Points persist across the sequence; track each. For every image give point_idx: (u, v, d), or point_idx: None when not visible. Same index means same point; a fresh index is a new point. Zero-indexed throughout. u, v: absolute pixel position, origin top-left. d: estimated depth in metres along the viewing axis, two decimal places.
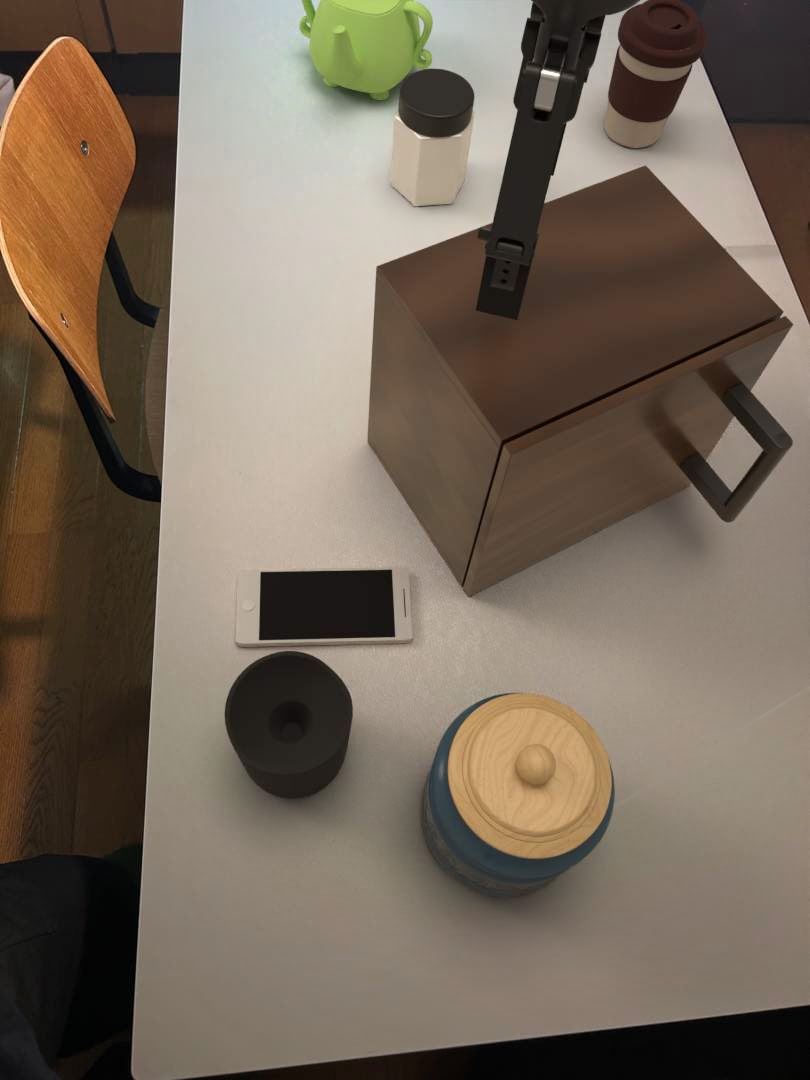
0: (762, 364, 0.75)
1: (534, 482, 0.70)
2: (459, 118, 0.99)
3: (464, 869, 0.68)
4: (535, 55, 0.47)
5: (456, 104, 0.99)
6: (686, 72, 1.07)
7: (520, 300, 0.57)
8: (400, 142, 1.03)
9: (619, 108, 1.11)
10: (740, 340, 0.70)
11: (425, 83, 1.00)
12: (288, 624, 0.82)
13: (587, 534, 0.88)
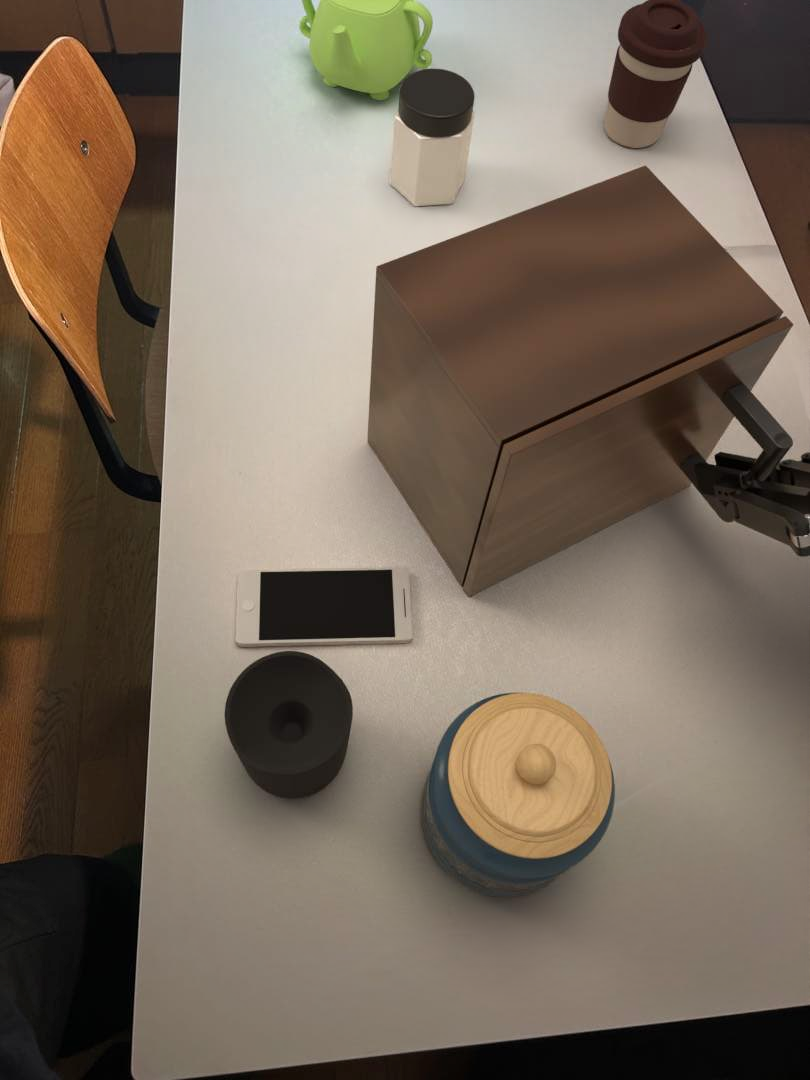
0: (762, 364, 0.75)
1: (534, 482, 0.70)
2: (459, 118, 0.99)
3: (464, 869, 0.68)
4: None
5: (456, 104, 0.99)
6: (686, 72, 1.07)
7: (734, 455, 0.82)
8: (400, 142, 1.03)
9: (619, 108, 1.11)
10: (740, 340, 0.70)
11: (425, 83, 1.00)
12: (288, 624, 0.82)
13: (587, 534, 0.88)
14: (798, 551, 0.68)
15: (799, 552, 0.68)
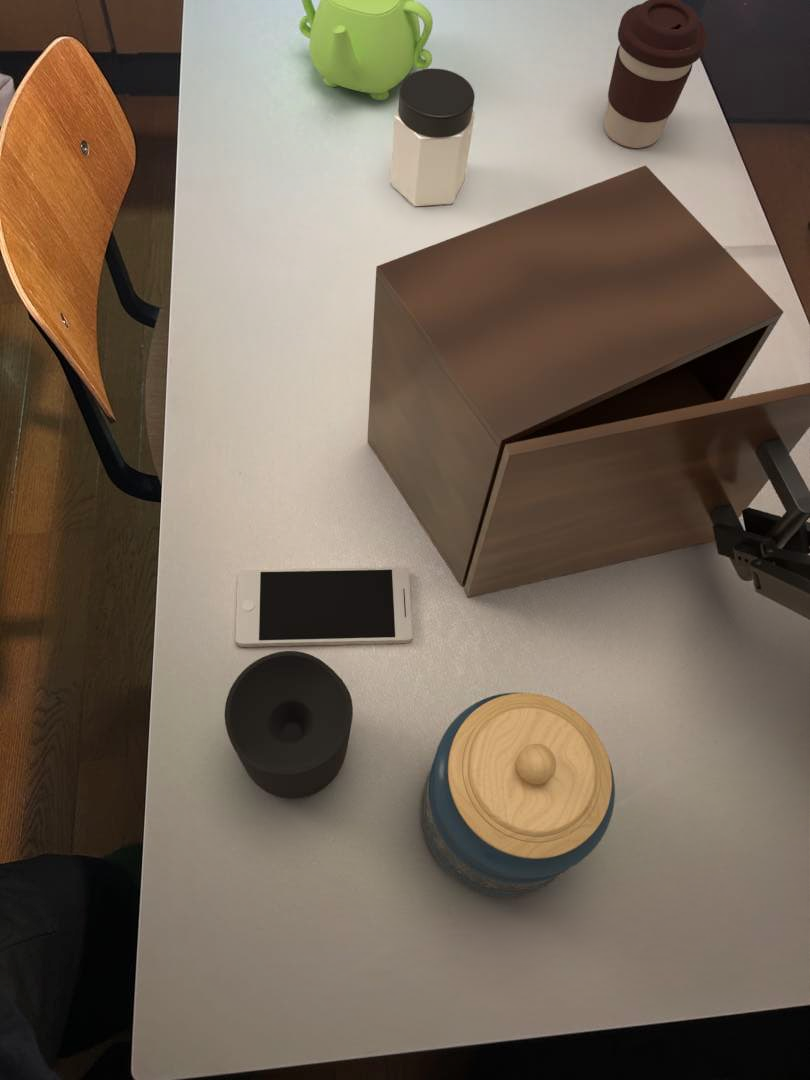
0: (803, 423, 0.72)
1: (537, 491, 0.70)
2: (459, 118, 0.99)
3: (464, 869, 0.68)
4: None
5: (456, 104, 0.99)
6: (686, 72, 1.07)
7: (763, 512, 0.79)
8: (400, 142, 1.03)
9: (619, 108, 1.11)
10: (778, 392, 0.68)
11: (425, 83, 1.00)
12: (288, 624, 0.82)
13: (602, 563, 0.87)
14: None
15: None
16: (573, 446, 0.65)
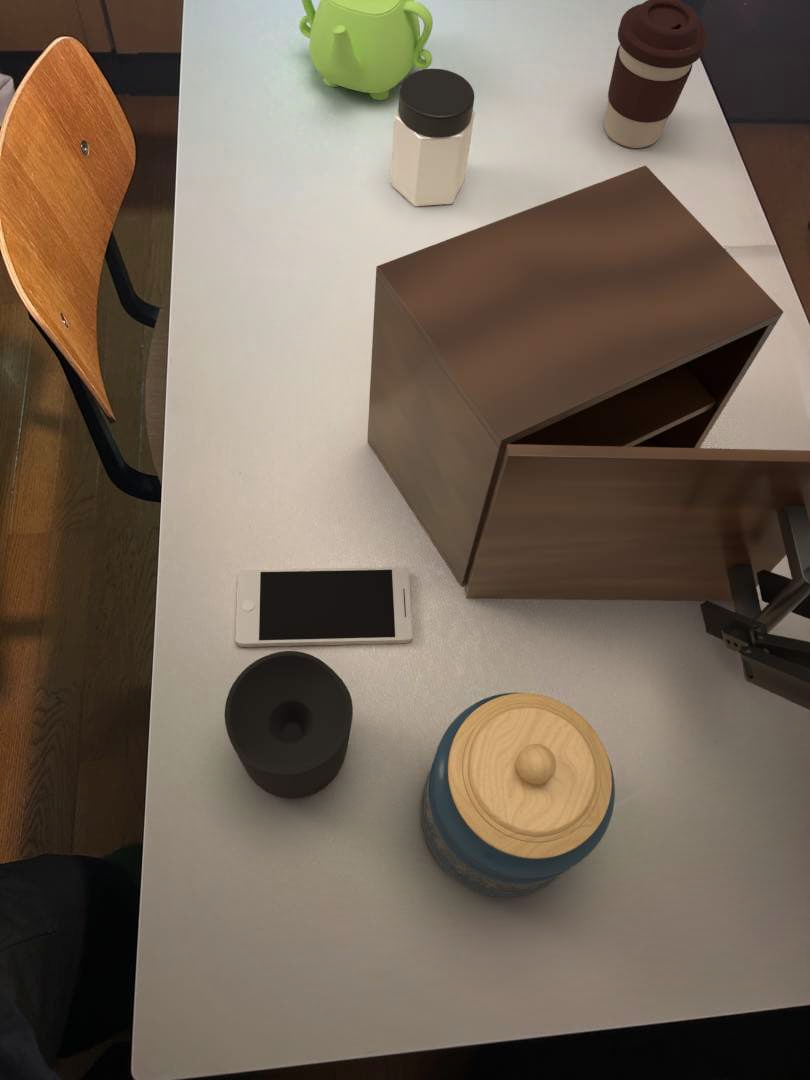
0: None
1: (538, 500, 0.70)
2: (459, 118, 0.99)
3: (464, 869, 0.68)
4: None
5: (456, 104, 0.99)
6: (686, 72, 1.07)
7: (779, 575, 0.76)
8: (400, 142, 1.03)
9: (619, 108, 1.11)
10: (804, 454, 0.66)
11: (425, 83, 1.00)
12: (288, 624, 0.82)
13: (609, 595, 0.85)
14: None
15: None
16: (575, 461, 0.65)
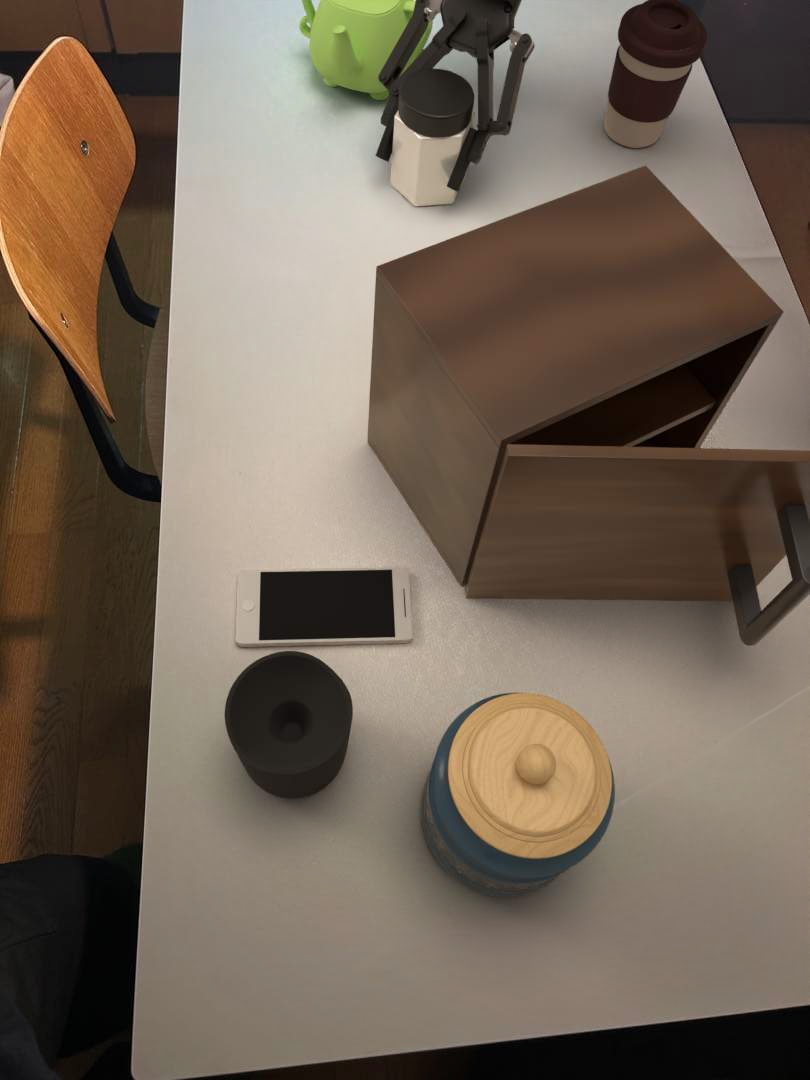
0: None
1: (538, 500, 0.70)
2: (459, 118, 0.99)
3: (464, 869, 0.68)
4: (507, 28, 0.99)
5: (456, 104, 0.99)
6: (686, 72, 1.07)
7: (464, 176, 1.05)
8: (400, 142, 1.03)
9: (619, 108, 1.11)
10: (804, 454, 0.66)
11: (425, 83, 1.00)
12: (288, 624, 0.82)
13: (609, 595, 0.85)
14: None
15: None
16: (575, 461, 0.65)
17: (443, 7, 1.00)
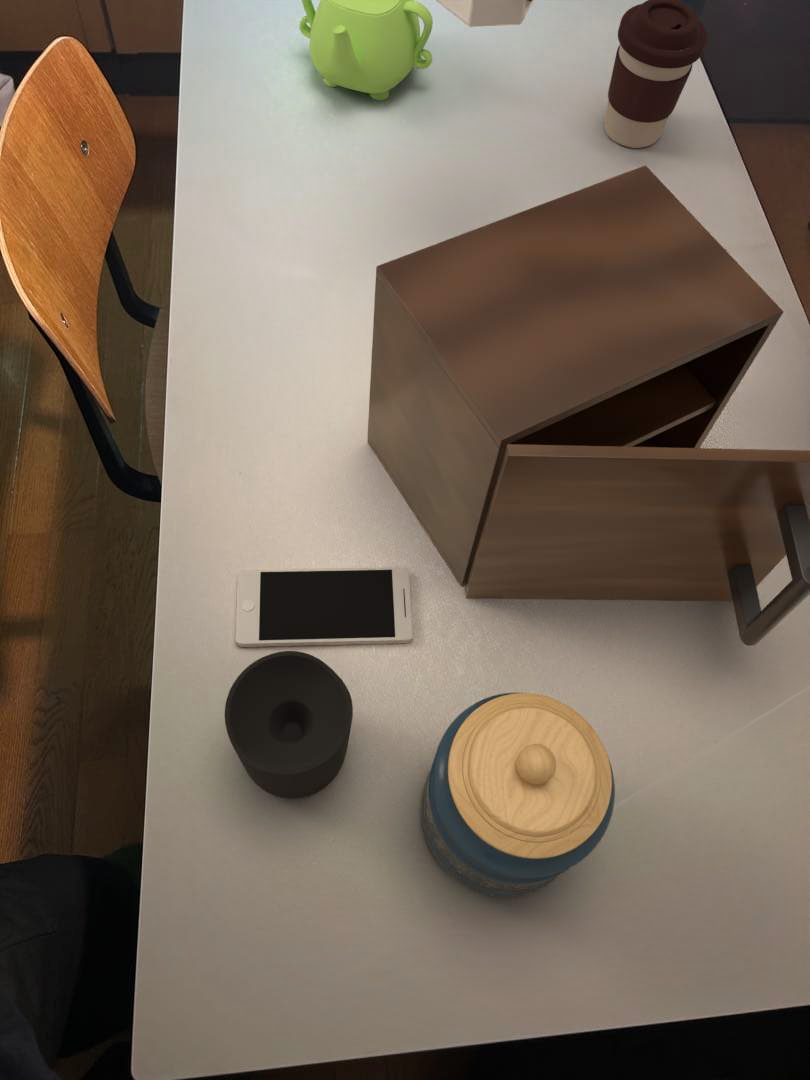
0: None
1: (538, 500, 0.70)
2: None
3: (464, 869, 0.68)
4: None
5: None
6: (686, 72, 1.07)
7: None
8: None
9: (619, 108, 1.11)
10: (804, 454, 0.66)
11: None
12: (288, 624, 0.82)
13: (609, 595, 0.85)
14: None
15: None
16: (575, 461, 0.65)
17: None
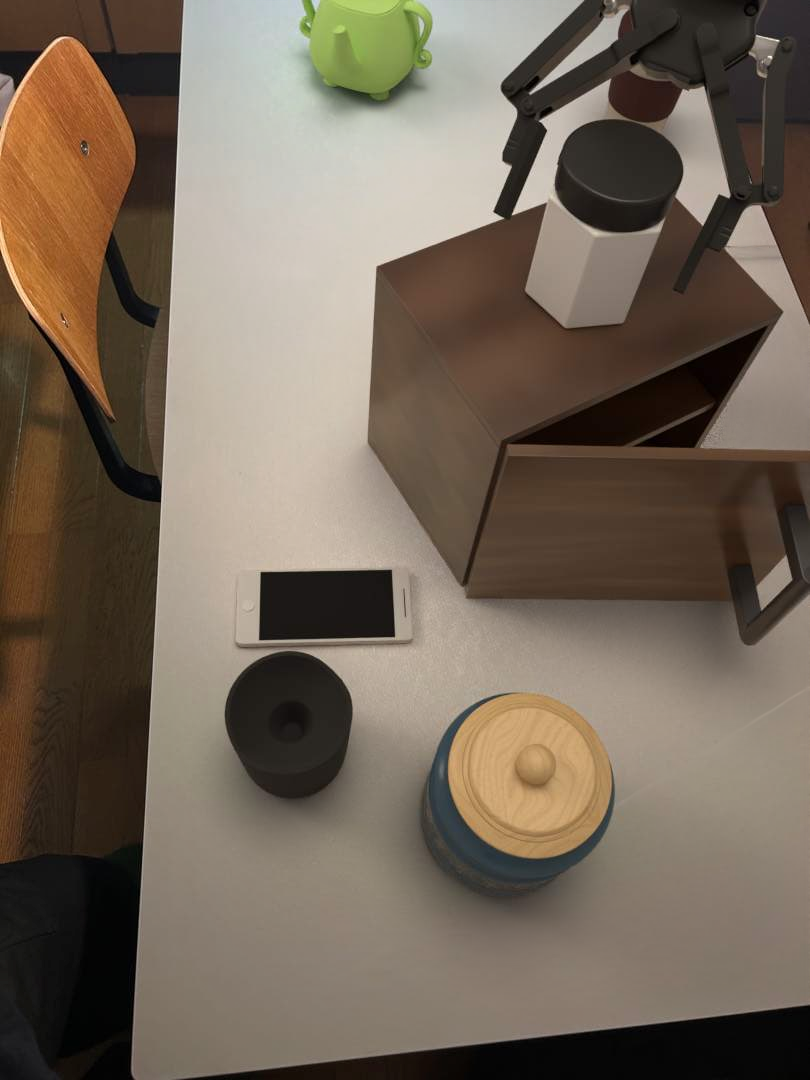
0: None
1: (538, 500, 0.70)
2: (662, 203, 0.60)
3: (464, 869, 0.68)
4: (748, 42, 0.59)
5: (657, 180, 0.60)
6: None
7: None
8: (554, 236, 0.64)
9: (619, 108, 1.11)
10: (804, 454, 0.66)
11: (603, 144, 0.61)
12: (288, 624, 0.82)
13: (609, 595, 0.85)
14: None
15: None
16: (575, 461, 0.65)
17: (637, 7, 0.61)
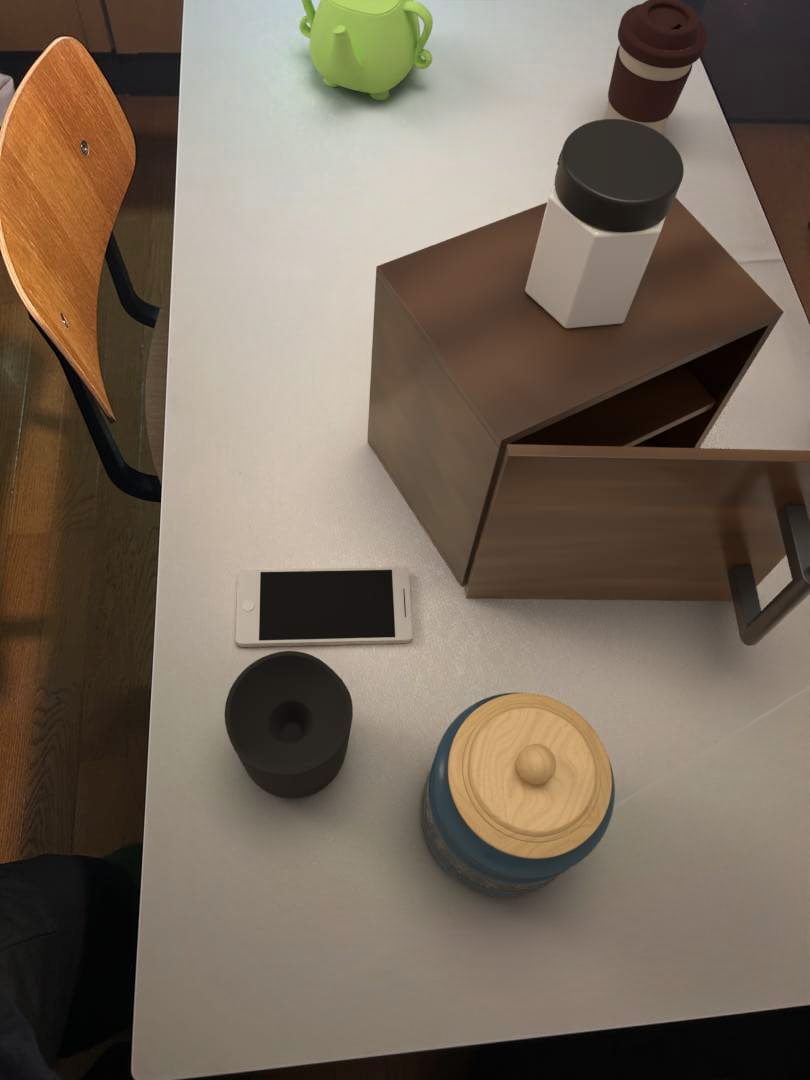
0: None
1: (538, 500, 0.70)
2: (662, 203, 0.60)
3: (464, 869, 0.68)
4: None
5: (657, 180, 0.60)
6: (686, 72, 1.07)
7: None
8: (554, 236, 0.64)
9: (619, 108, 1.11)
10: (804, 454, 0.66)
11: (603, 144, 0.61)
12: (288, 624, 0.82)
13: (609, 595, 0.85)
14: None
15: None
16: (575, 461, 0.65)
17: None
